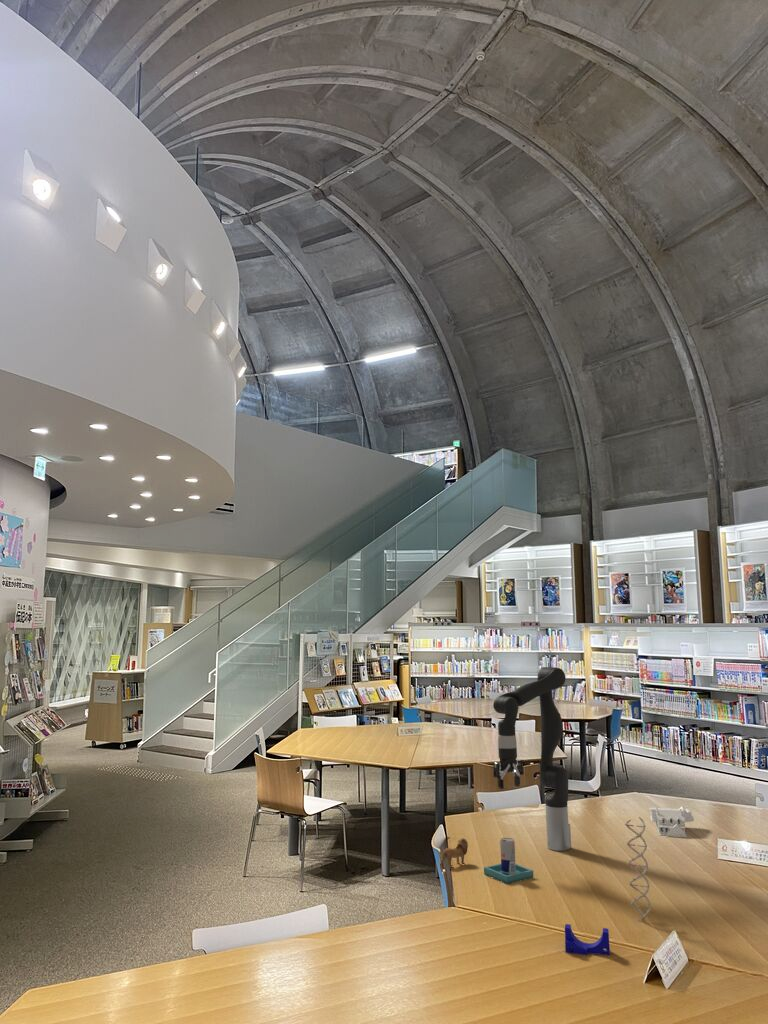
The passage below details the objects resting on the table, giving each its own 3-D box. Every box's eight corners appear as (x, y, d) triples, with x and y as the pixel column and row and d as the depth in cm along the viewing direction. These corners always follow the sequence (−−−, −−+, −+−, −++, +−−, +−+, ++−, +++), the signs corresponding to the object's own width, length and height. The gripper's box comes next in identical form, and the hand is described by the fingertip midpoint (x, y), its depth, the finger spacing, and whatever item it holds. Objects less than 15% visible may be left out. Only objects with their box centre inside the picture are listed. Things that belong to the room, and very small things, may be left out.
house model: (654, 836, 318) (653, 813, 320) (650, 825, 337) (649, 803, 339) (700, 838, 314) (698, 815, 315) (693, 827, 332) (691, 805, 334)
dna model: (636, 912, 229) (630, 814, 234) (655, 918, 224) (648, 817, 230) (626, 918, 224) (620, 818, 229) (646, 923, 220) (639, 821, 225)
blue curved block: (565, 953, 200) (564, 930, 201) (566, 946, 204) (565, 924, 205) (609, 958, 196) (608, 934, 198) (609, 951, 201) (608, 928, 202)
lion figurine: (461, 859, 285) (461, 836, 287) (471, 862, 282) (471, 838, 283) (436, 867, 276) (436, 843, 277) (446, 871, 272) (446, 846, 273)
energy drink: (500, 871, 268) (498, 837, 270) (513, 871, 268) (512, 837, 271) (503, 876, 263) (502, 841, 265) (517, 875, 263) (516, 841, 265)
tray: (510, 868, 274) (509, 861, 274) (533, 877, 263) (533, 870, 264) (484, 874, 267) (483, 867, 268) (506, 884, 256) (506, 876, 257)
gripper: (514, 743, 299) (516, 783, 296) (488, 746, 291) (489, 788, 289) (526, 745, 293) (528, 786, 290) (500, 749, 285) (502, 791, 282)
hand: (509, 787), depth 289 cm, fingers open, 8 cm apart
